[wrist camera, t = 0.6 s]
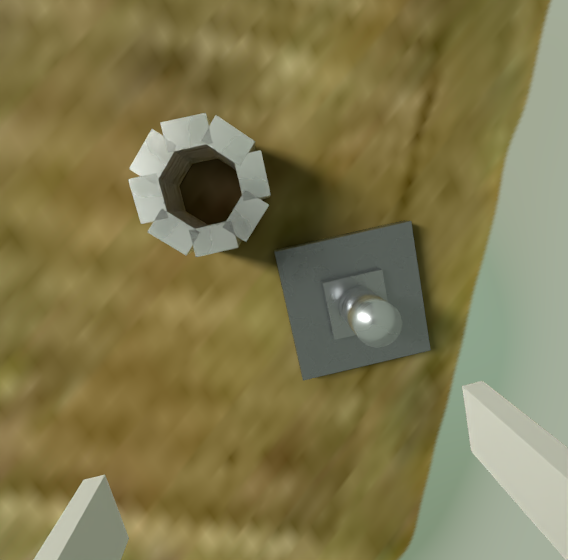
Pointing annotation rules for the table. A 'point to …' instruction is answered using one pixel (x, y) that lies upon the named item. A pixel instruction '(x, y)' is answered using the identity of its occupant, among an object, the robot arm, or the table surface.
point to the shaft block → (354, 299)
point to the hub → (172, 169)
